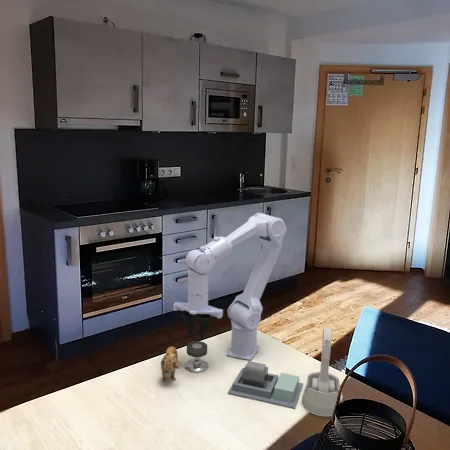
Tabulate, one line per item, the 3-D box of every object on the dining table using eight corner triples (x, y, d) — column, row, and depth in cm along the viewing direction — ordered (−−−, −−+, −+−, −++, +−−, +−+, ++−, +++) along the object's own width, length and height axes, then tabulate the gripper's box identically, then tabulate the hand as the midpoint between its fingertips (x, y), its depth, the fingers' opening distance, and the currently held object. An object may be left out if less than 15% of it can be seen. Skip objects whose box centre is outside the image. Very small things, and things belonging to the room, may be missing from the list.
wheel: (191, 345, 140) (191, 339, 140) (210, 349, 138) (210, 343, 138) (183, 355, 134) (183, 348, 134) (202, 359, 133) (202, 352, 132)
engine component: (301, 413, 117) (342, 419, 115) (306, 337, 112) (349, 342, 110) (302, 389, 127) (340, 394, 125) (308, 319, 123) (347, 323, 121)
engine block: (246, 379, 130) (247, 359, 129) (267, 383, 129) (268, 363, 127) (242, 387, 127) (242, 366, 125) (263, 391, 125) (264, 371, 123)
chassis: (241, 371, 135) (241, 361, 134) (303, 384, 129) (304, 373, 129) (227, 393, 124) (227, 382, 123) (294, 409, 118) (295, 397, 117)
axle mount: (190, 358, 142) (190, 351, 141) (212, 362, 139) (212, 356, 139) (180, 369, 135) (180, 362, 135) (203, 374, 133) (203, 367, 132)
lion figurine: (181, 387, 126) (181, 357, 124) (161, 388, 125) (161, 358, 123) (177, 360, 140) (178, 332, 138) (160, 361, 140) (160, 333, 138)
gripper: (168, 293, 131) (168, 338, 134) (217, 301, 126) (216, 347, 129) (179, 285, 137) (178, 328, 140) (225, 292, 133) (224, 336, 136)
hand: (197, 336), depth 135 cm, fingers open, 3 cm apart
